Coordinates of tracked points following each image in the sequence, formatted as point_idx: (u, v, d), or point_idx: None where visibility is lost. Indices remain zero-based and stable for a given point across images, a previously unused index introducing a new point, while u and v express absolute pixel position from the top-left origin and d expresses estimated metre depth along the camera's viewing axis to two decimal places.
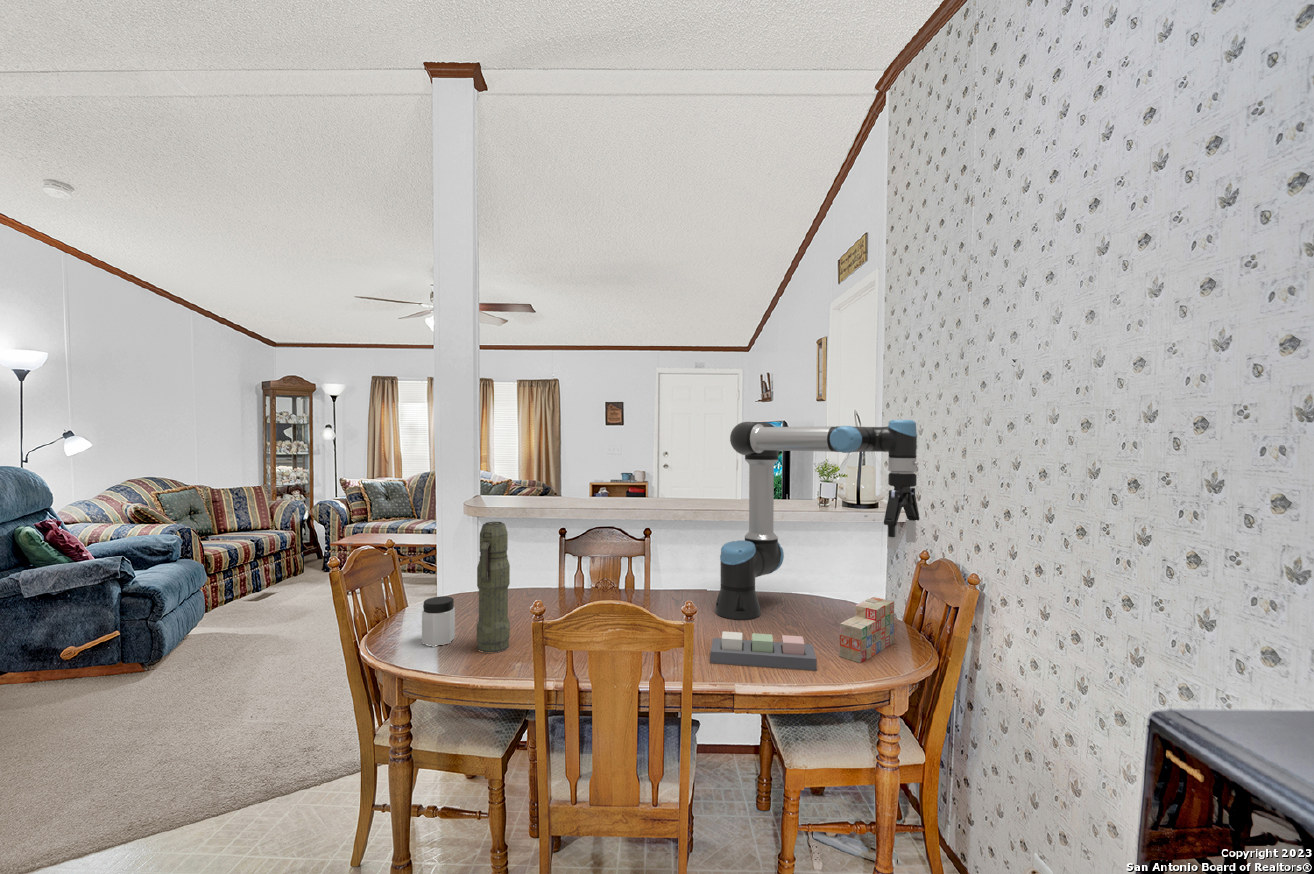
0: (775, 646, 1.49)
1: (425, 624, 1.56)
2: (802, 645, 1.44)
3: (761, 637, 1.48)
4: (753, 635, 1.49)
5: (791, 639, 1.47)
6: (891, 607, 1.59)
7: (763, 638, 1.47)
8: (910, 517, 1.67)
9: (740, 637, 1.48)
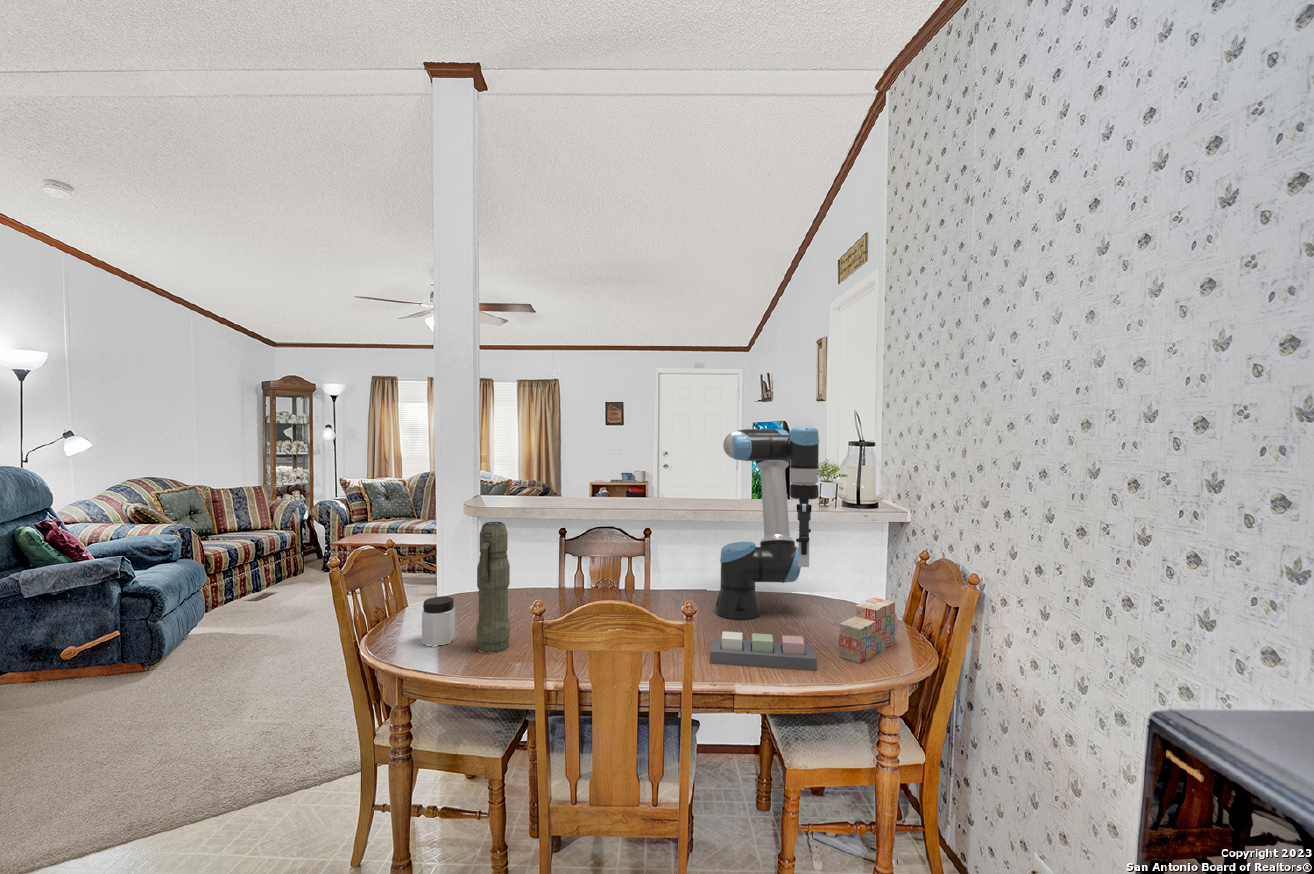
0: (775, 646, 1.49)
1: (425, 624, 1.56)
2: (802, 645, 1.44)
3: (761, 637, 1.48)
4: (753, 635, 1.49)
5: (791, 639, 1.47)
6: (892, 608, 1.59)
7: (763, 638, 1.47)
8: None
9: (740, 637, 1.48)
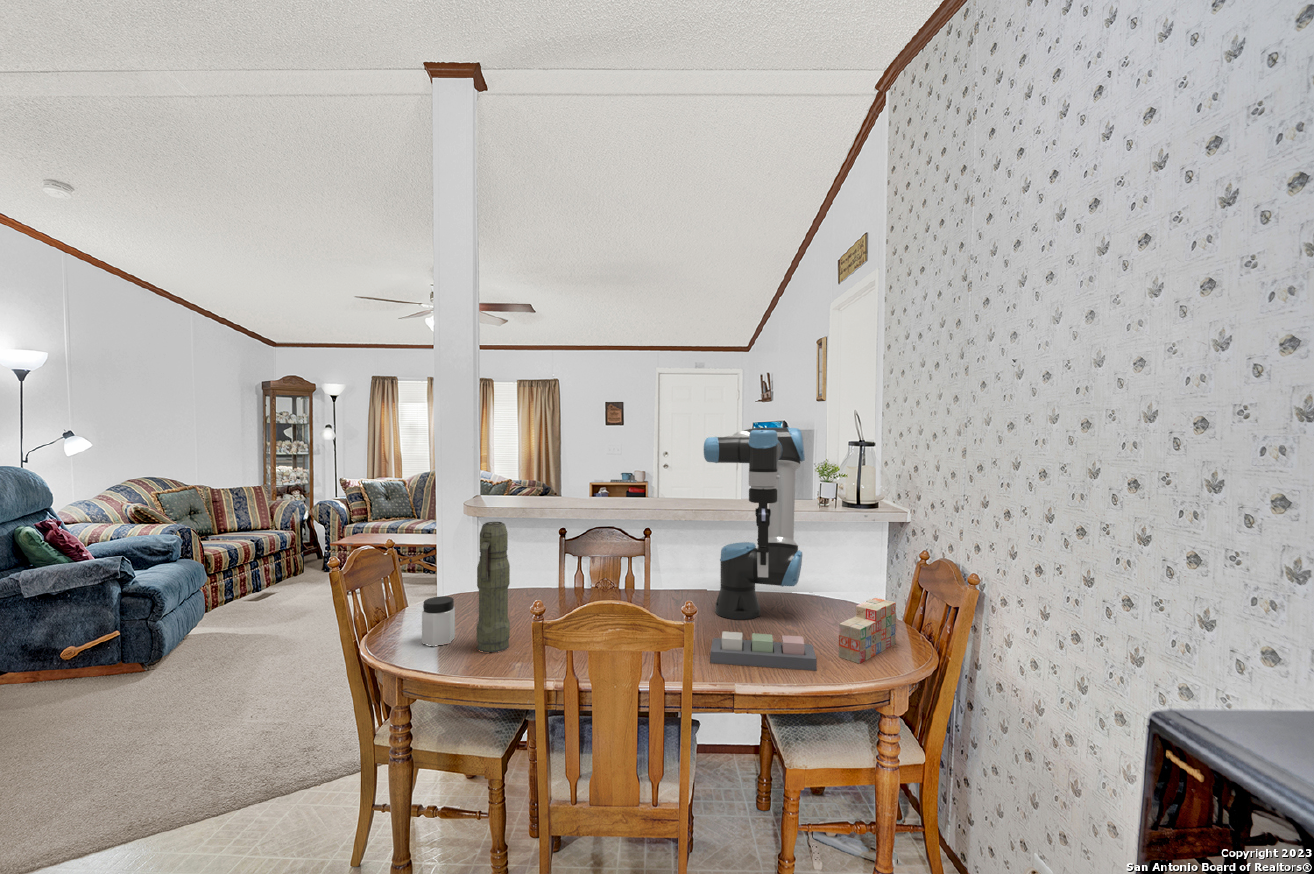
0: (775, 646, 1.49)
1: (425, 624, 1.56)
2: (802, 645, 1.44)
3: (761, 637, 1.48)
4: (753, 635, 1.49)
5: (791, 639, 1.47)
6: (893, 608, 1.58)
7: (763, 638, 1.47)
8: None
9: (740, 637, 1.48)
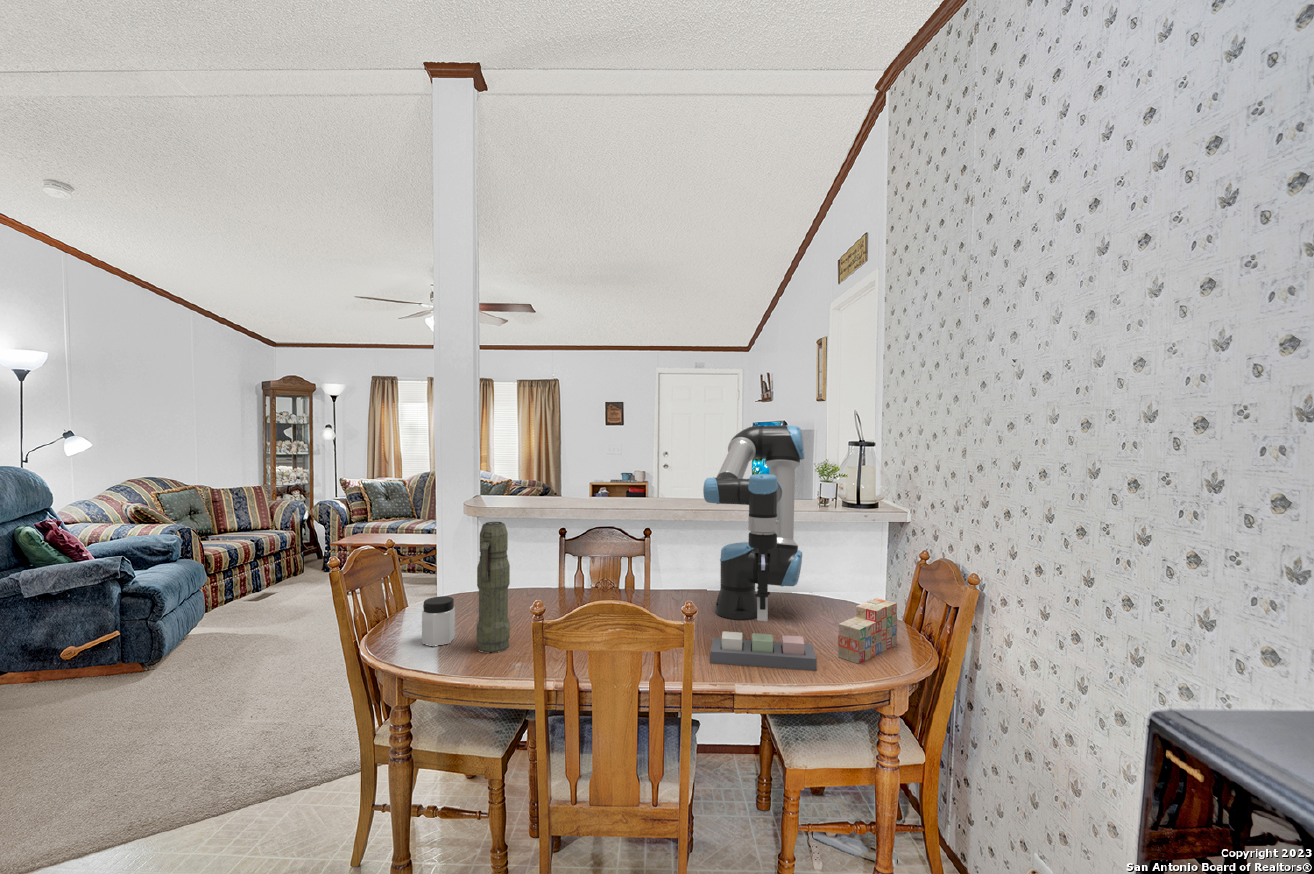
0: (775, 646, 1.49)
1: (425, 623, 1.56)
2: (802, 645, 1.44)
3: (761, 637, 1.48)
4: (753, 635, 1.49)
5: (791, 639, 1.47)
6: (893, 609, 1.58)
7: (763, 638, 1.47)
8: None
9: (740, 637, 1.48)
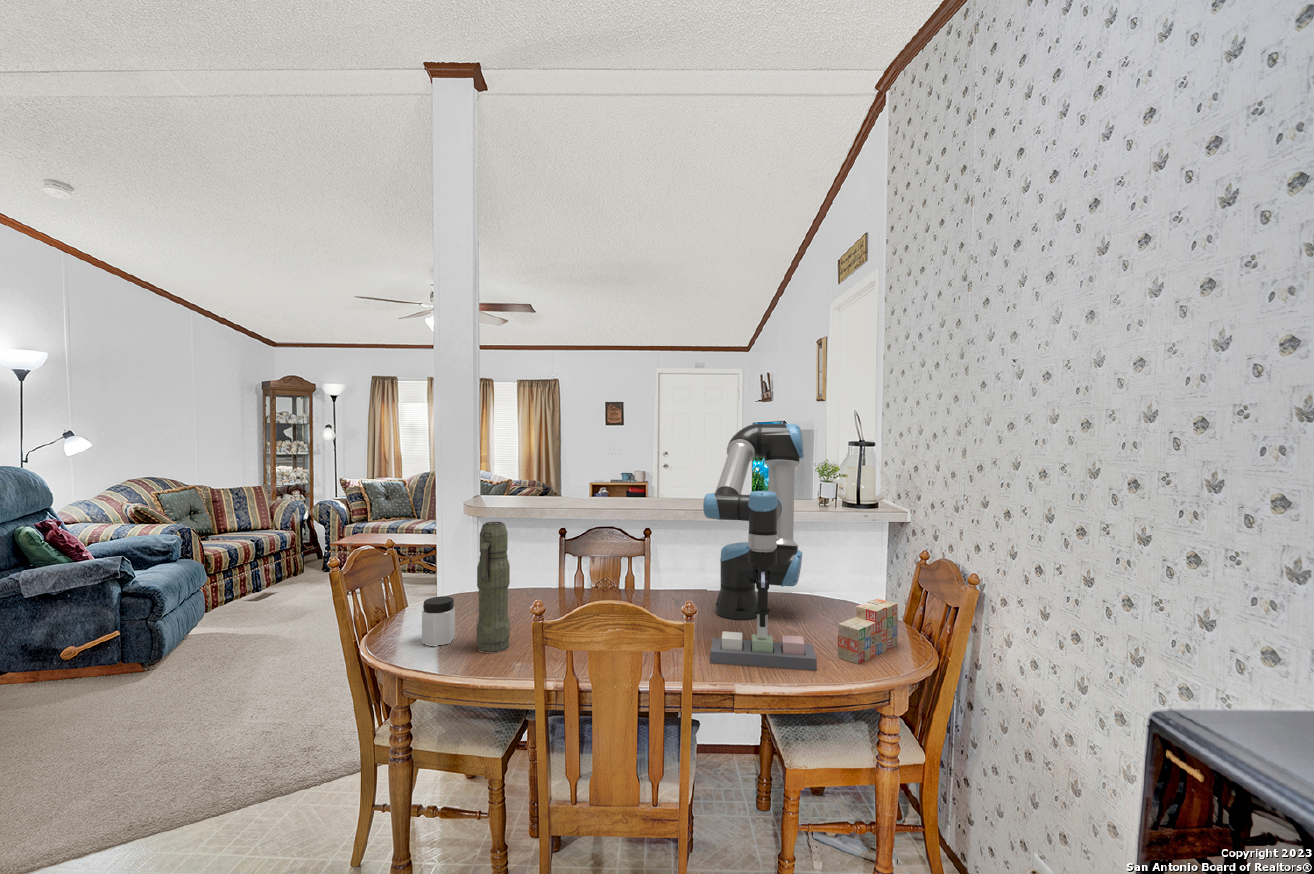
0: (775, 646, 1.49)
1: (425, 623, 1.56)
2: (802, 645, 1.44)
3: None
4: (753, 636, 1.49)
5: (791, 639, 1.47)
6: (894, 609, 1.57)
7: None
8: None
9: (740, 637, 1.48)
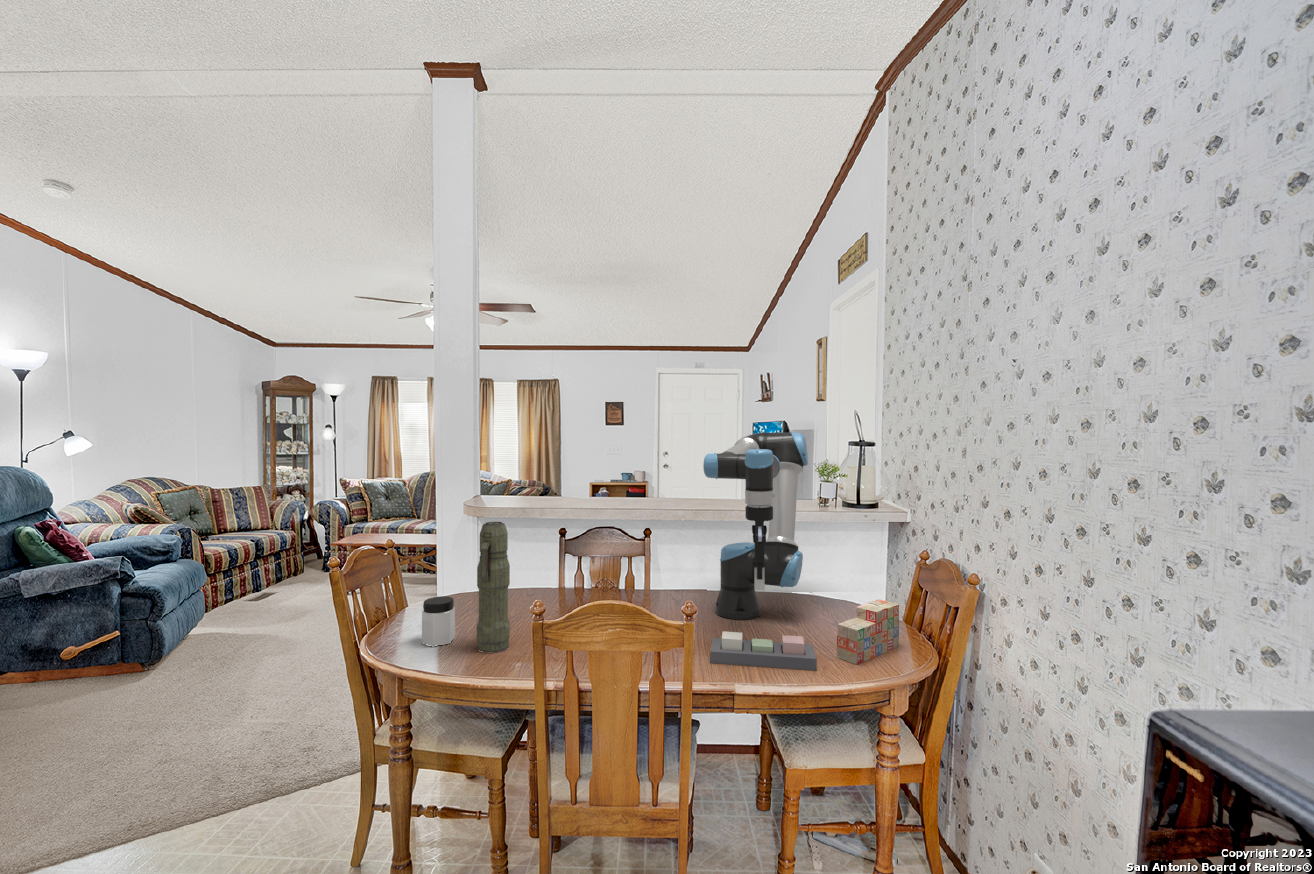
0: (775, 646, 1.49)
1: (425, 623, 1.56)
2: (802, 645, 1.44)
3: (761, 642, 1.48)
4: (753, 640, 1.49)
5: (791, 639, 1.47)
6: (895, 610, 1.57)
7: (763, 643, 1.47)
8: None
9: (740, 637, 1.48)
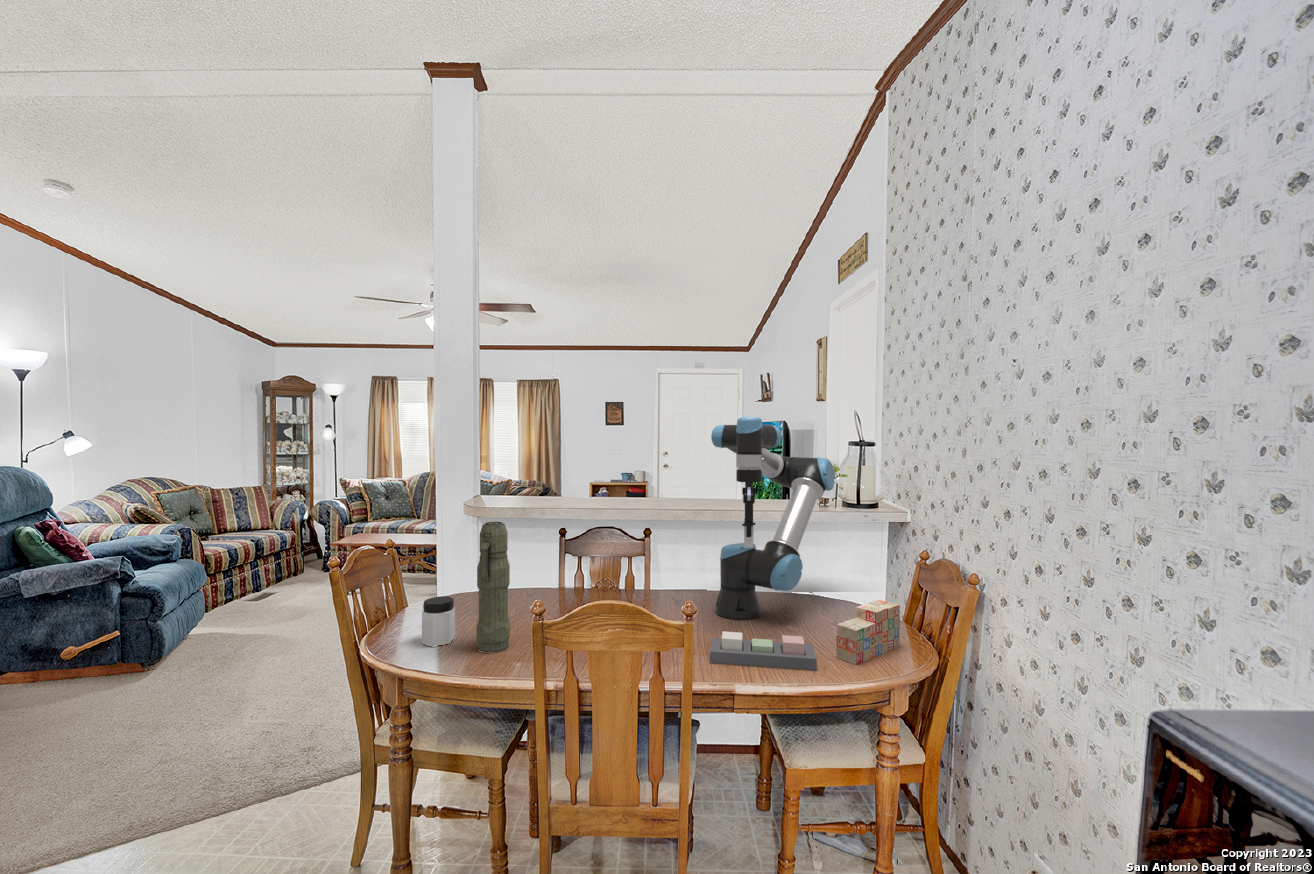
0: (775, 646, 1.49)
1: (425, 623, 1.56)
2: (802, 645, 1.44)
3: (761, 642, 1.48)
4: (753, 640, 1.49)
5: (791, 639, 1.47)
6: (896, 611, 1.56)
7: (763, 643, 1.47)
8: None
9: (740, 637, 1.48)
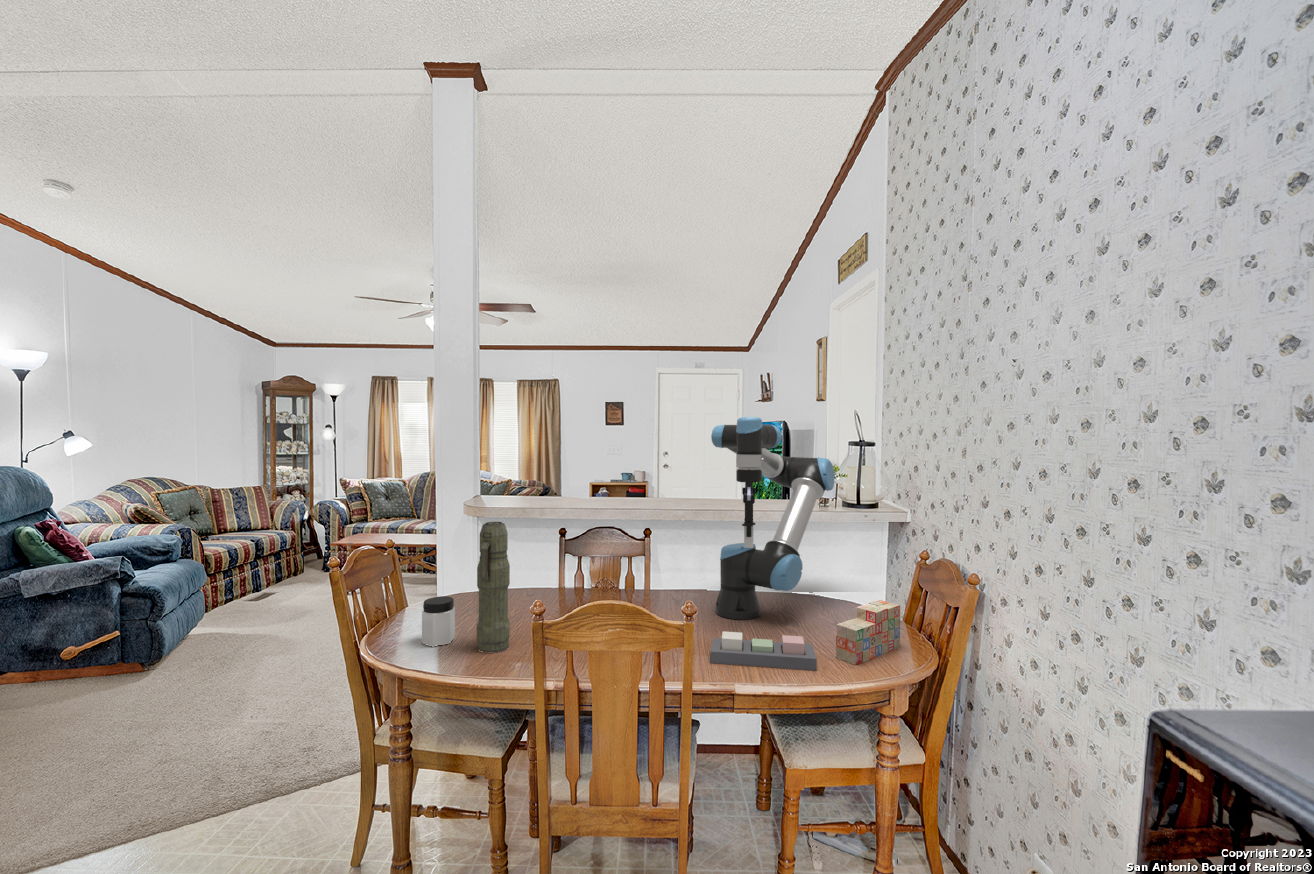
0: (775, 646, 1.49)
1: (425, 623, 1.56)
2: (802, 645, 1.44)
3: (761, 642, 1.48)
4: (753, 640, 1.49)
5: (791, 639, 1.47)
6: (896, 611, 1.56)
7: (763, 643, 1.47)
8: None
9: (740, 637, 1.48)
